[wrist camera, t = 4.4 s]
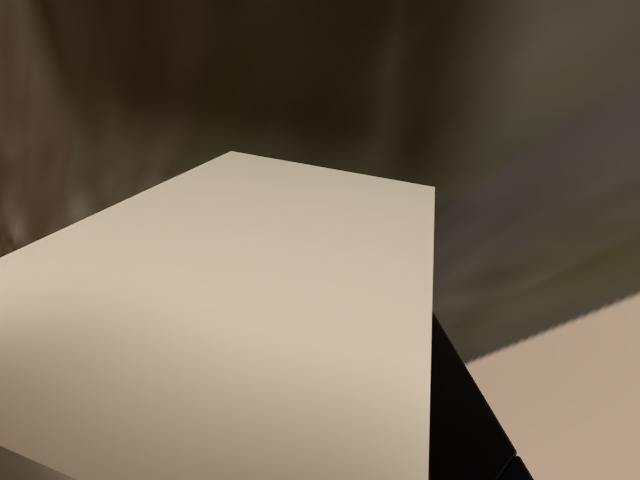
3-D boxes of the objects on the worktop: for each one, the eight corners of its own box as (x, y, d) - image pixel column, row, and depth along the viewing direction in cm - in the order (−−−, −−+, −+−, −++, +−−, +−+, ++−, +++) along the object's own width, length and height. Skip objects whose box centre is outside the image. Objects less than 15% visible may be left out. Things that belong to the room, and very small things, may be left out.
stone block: (434, 187, 8) (425, 635, 2) (392, 348, 10) (328, 763, 4) (231, 151, 9) (-206, 352, 3) (237, 305, 11) (11, 587, 5)
